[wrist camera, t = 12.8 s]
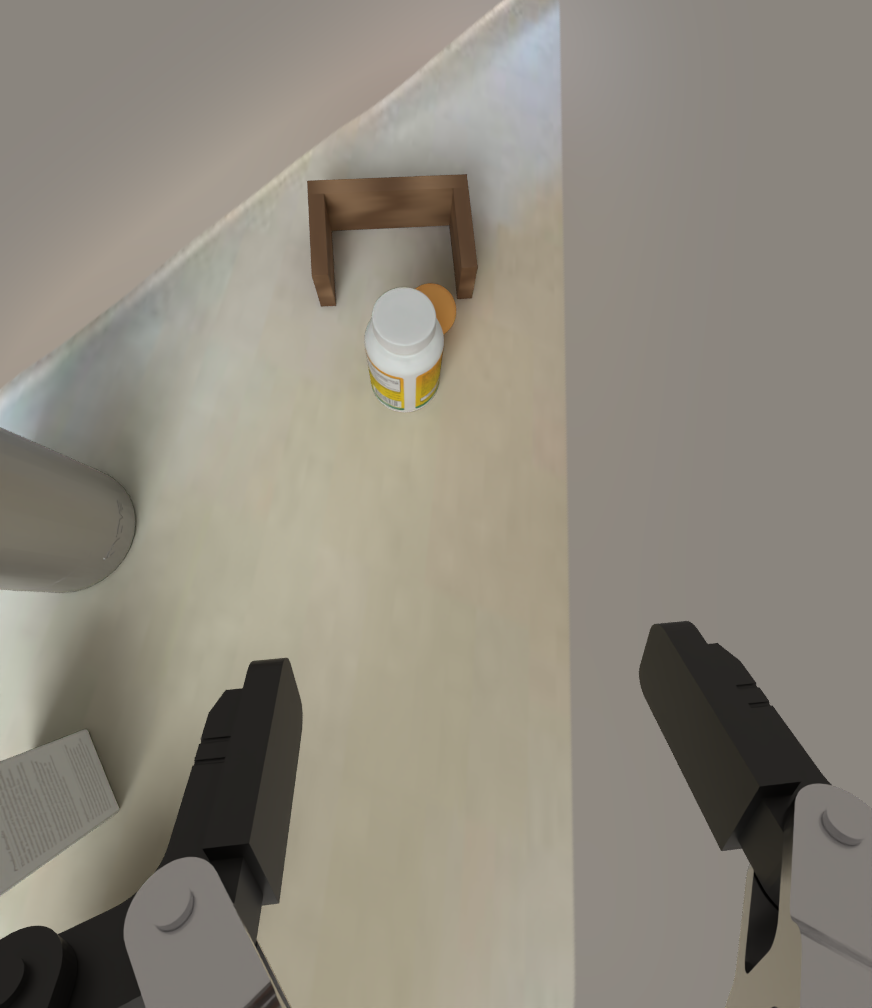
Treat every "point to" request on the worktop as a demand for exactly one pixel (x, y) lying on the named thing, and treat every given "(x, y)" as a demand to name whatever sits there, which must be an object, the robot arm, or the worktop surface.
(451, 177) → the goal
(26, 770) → the skincare box
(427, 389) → the supplement bottle
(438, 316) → the ball
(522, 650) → the worktop surface
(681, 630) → the robot arm
